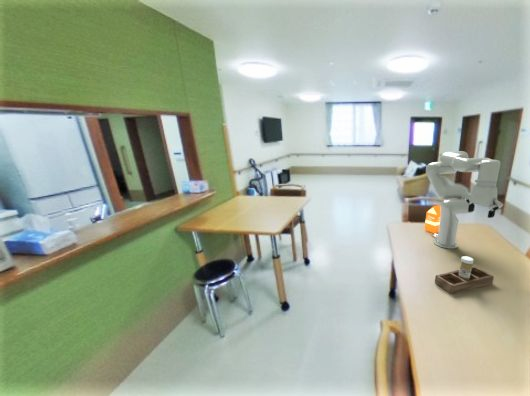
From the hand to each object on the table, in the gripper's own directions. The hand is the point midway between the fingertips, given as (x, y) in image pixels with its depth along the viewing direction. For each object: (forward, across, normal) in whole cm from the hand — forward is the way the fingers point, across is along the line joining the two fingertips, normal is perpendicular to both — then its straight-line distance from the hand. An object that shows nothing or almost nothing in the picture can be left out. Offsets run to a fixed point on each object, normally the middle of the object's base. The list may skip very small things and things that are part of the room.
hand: (480, 214), depth 124 cm
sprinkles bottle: (+30, +12, -21) cm, 38 cm away
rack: (+30, +12, -21) cm, 39 cm away
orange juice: (+31, -42, +20) cm, 56 cm away
